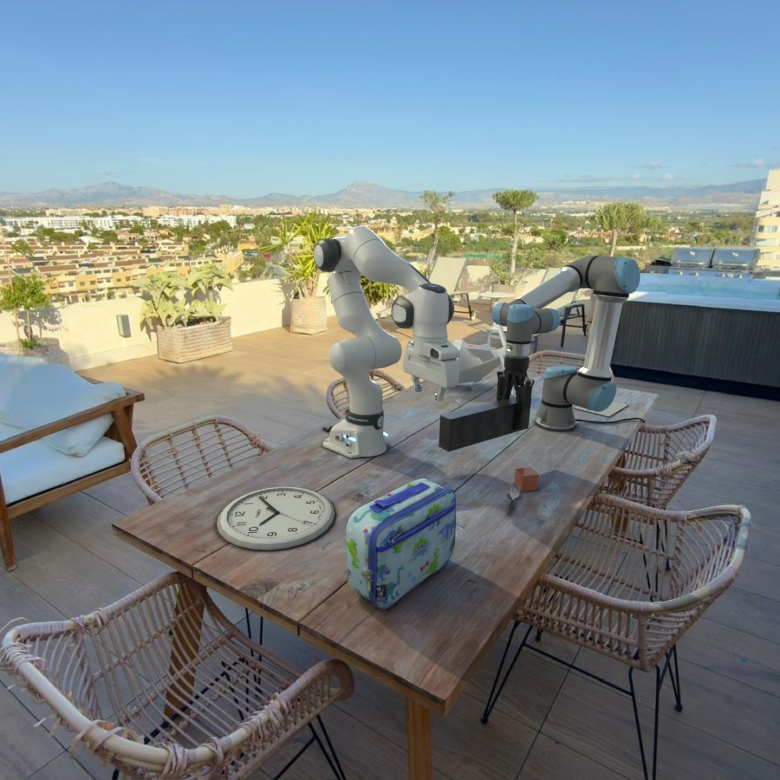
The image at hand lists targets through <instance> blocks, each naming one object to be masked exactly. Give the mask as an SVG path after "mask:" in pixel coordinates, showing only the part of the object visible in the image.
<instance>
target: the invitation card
mask: <svg viewBox="0 0 780 780" xmlns="http://www.w3.org/2000/svg"><path fill="white" fill-rule="evenodd" d="M628 406H629V404H627V403H623V402H618V401H614V400H613V402H612V403H611V404H610V406H609V407H608V408H607V409H605V410H604V411H601V412H596V411H592V410H587V409H585V408H582V407H579V406H576V405H575V406H574V407H573V409H575V410H581V411H584V412H587V413H593V414H596V415H600V416H604V417H608V418H609V417H611V416H613V415H614V414H616V413H617V412H619V411H621V410H623V409H624V408H626V407H628Z"/></svg>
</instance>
